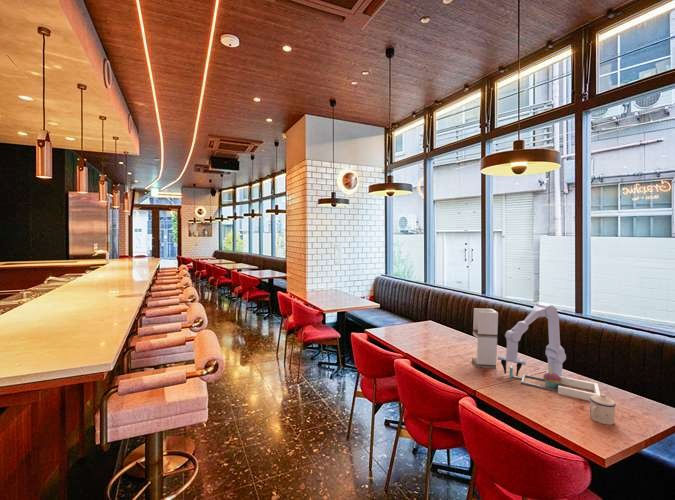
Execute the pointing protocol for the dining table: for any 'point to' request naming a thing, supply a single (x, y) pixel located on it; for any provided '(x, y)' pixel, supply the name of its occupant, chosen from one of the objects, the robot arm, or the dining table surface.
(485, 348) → the light grey tall block
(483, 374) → the dining table surface
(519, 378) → the frame with teal handle
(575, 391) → the white rectangular tray
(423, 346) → the dining table surface
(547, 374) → the cupcake
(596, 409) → the teacup with lid
